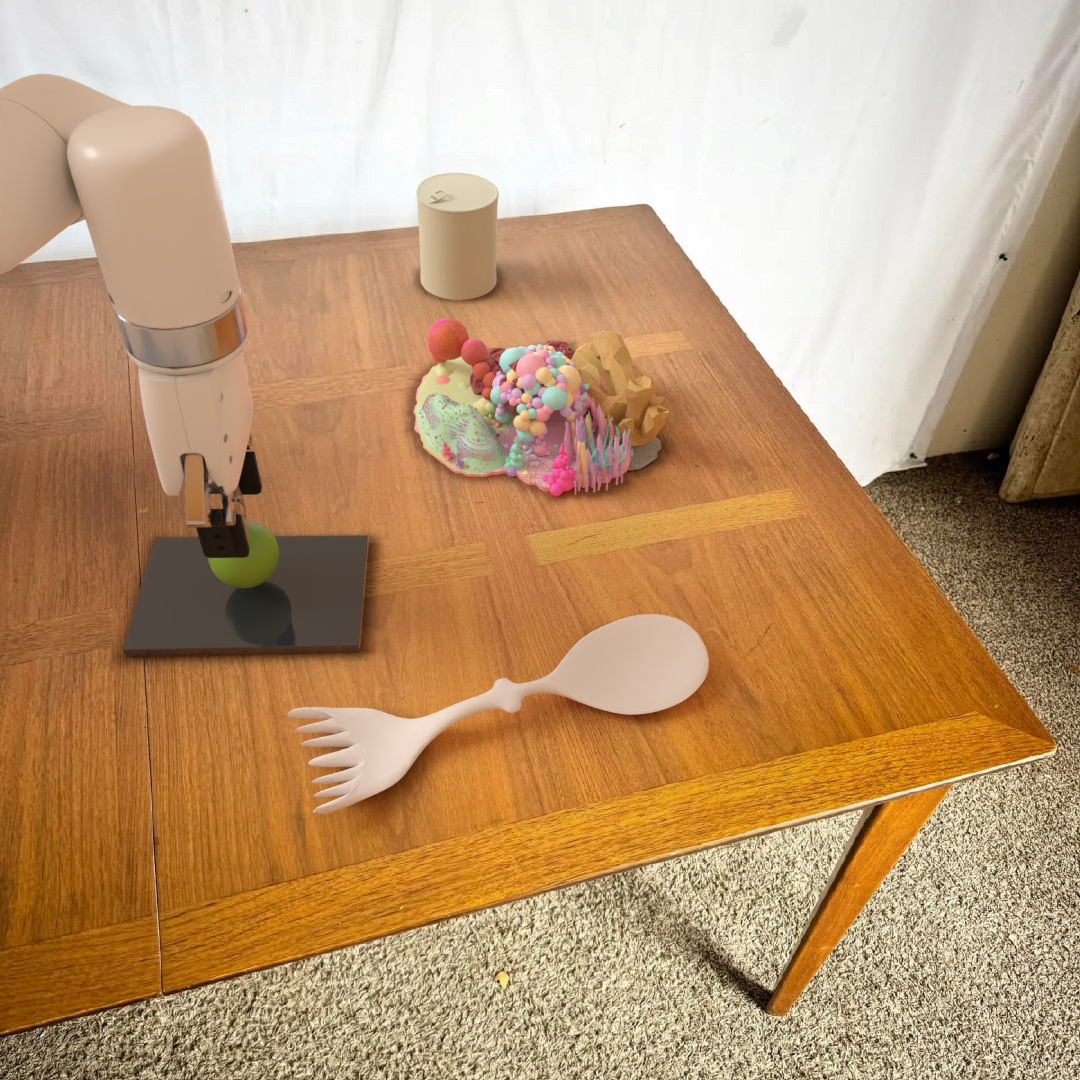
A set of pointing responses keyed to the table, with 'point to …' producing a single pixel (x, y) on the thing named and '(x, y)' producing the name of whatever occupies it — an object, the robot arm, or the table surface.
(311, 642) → the slate board
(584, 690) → the spoon
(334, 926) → the table surface
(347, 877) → the table surface
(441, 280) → the can
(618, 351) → the candy landscape model
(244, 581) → the apple with worm toy
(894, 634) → the table surface
